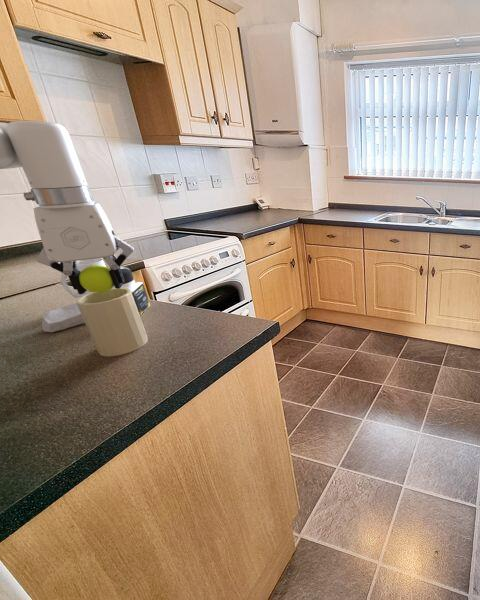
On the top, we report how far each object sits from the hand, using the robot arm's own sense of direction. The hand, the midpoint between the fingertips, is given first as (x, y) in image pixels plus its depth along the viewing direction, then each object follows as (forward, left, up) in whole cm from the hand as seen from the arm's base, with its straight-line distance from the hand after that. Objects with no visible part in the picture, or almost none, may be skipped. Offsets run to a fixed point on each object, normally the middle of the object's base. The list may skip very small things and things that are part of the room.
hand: (101, 288), depth 69 cm
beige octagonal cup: (0, 0, -14) cm, 14 cm away
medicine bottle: (-2, +20, -14) cm, 24 cm away
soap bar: (-14, +19, -14) cm, 27 cm away
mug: (-12, +32, -14) cm, 37 cm away
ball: (0, 0, +2) cm, 2 cm away
